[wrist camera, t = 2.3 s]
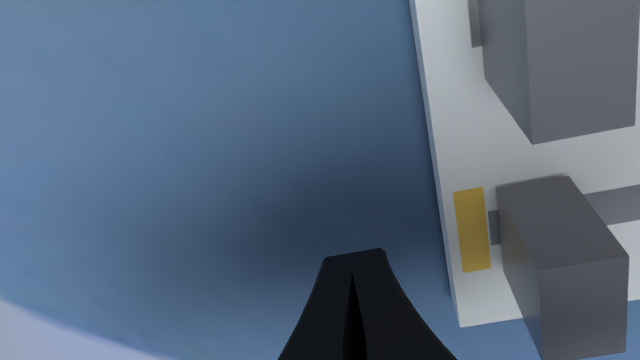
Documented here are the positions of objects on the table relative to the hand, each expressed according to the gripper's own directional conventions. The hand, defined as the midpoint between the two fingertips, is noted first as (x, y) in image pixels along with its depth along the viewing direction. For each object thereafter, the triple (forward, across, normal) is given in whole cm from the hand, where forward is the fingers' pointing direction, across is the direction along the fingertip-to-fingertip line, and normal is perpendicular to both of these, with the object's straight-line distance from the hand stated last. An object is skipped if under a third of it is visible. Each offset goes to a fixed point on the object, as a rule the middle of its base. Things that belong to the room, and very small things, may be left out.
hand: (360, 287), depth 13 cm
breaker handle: (+1, -4, 0) cm, 4 cm away
